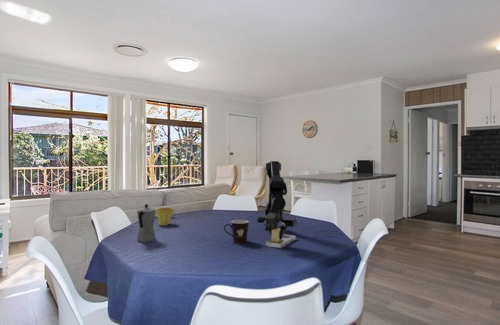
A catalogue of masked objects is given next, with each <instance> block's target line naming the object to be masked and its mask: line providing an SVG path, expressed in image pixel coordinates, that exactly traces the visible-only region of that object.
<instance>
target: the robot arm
mask: <svg viewBox="0 0 500 325" xmlns="http://www.w3.org/2000/svg"><path fill="white" fill-rule="evenodd" d="M281 171H282V162H280V161H278V160H276V161H275V160H271V161H269V162H267V163H265V172H266V175H267V177H268V202H267V203H266V205H265V208H264V214H263V215H259V216H258V217H257V219H256V220H257V223H260V224H263V223H264V224H263V225H265V228H264V230H265V231H269V233H270V236H271V238H272V229H274V228H278V229H280V239H282V237H283V235H284V234H285V232H286V231H287V228H288V227H291V228H293V227H295V226H298V220H297V219H296V218H292V217H291V218H290V217H289V218H287V219H285V216H284V210H285V207H286V204H287V202H286V200H285V198H284V196H287V194H288V186H287V183H286V182H285V180H284V178H283V177H282V176H281ZM279 224H280V225H279Z"/></svg>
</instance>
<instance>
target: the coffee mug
mask: <svg viewBox="0 0 500 325" xmlns="http://www.w3.org/2000/svg"><path fill="white" fill-rule="evenodd" d="M223 226H224V227H223V230H224V232H225V233H226V234H227V235H229V236H231V237H232V241H233V243H235V244H246V242H247V239H248V231H249V220H246V219H234V220H231V224H229V223H228V224H227V223H226V224H225V225H223ZM227 226H229V227H230V228H231V230H232V233H229V232H228V231H227V230H226V227H227Z"/></svg>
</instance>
